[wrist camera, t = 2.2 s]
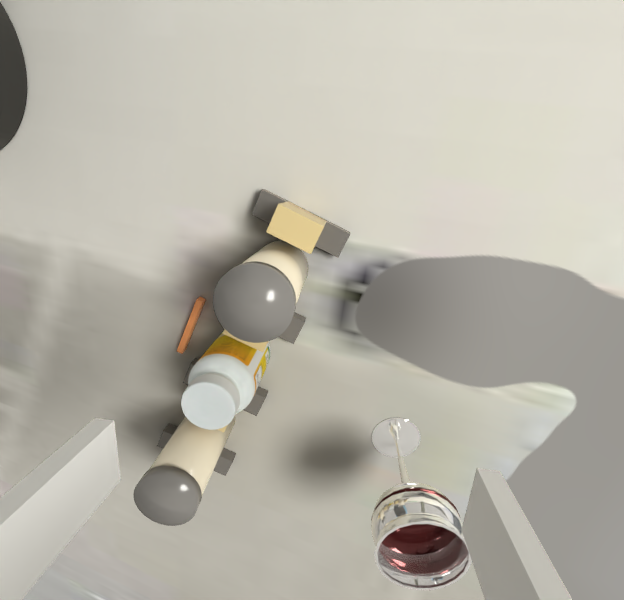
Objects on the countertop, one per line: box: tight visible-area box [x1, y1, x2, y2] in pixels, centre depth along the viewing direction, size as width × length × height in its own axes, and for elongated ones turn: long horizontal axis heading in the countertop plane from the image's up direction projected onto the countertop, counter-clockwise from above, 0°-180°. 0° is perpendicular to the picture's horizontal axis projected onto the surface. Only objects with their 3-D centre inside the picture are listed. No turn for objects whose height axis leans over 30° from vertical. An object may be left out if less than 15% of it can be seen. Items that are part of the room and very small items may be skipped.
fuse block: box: [157, 189, 350, 476], centre depth 31 cm, size 10×29×5 cm, turn 154°
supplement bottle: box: [181, 332, 271, 430], centre depth 29 cm, size 5×5×10 cm
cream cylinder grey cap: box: [213, 241, 308, 343], centre depth 26 cm, size 5×5×10 cm
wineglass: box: [371, 418, 472, 590], centre depth 29 cm, size 7×7×12 cm
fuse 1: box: [134, 416, 235, 526], centre depth 31 cm, size 5×5×10 cm
